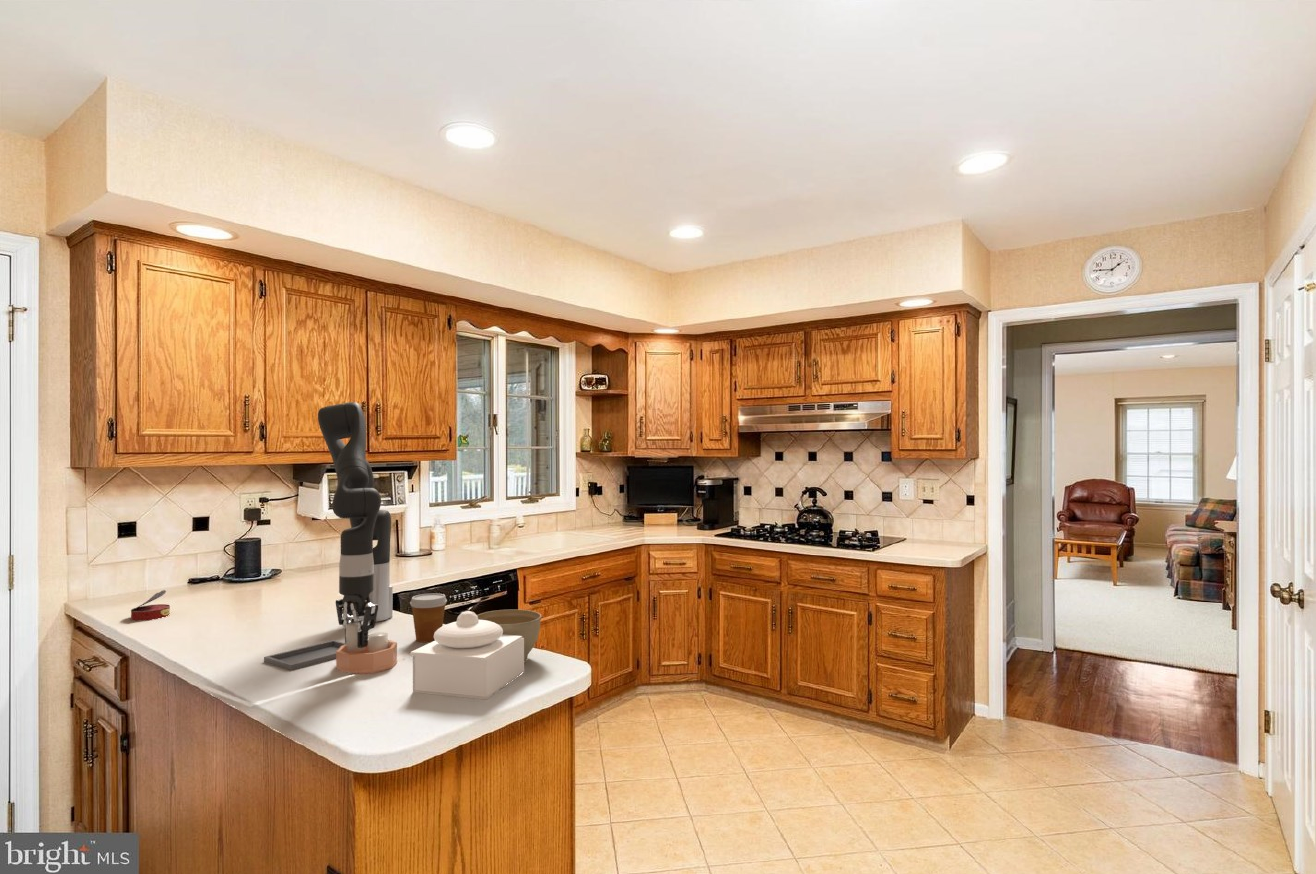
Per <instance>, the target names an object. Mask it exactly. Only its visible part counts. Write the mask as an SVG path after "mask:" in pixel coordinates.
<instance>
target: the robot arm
mask: <svg viewBox="0 0 1316 874" xmlns="http://www.w3.org/2000/svg"><path fill="white" fill-rule="evenodd" d="M363 411H364V410H363V409H362V406H361V405H360V404H359V403H358V402H357V401H351V402H344V403H337V404H331V405H328V406H323V407H321V408H320V409H318V411H317V421H318V425H319V428H320V432H321V434H322V436H323V439H324V441H325V443H326V447H327V449H328V452H329V454H330V456H331V459H332V463H333V466H334V470H335V473H336V478H337V479H336V480H337V486H336V490H335V493H334V496H333V499H332V506H331V507H332V511H333V512H332V513H334V515H335V516H336V517H338V518H339V519H349V524H350V528H346V529H344V530H342V531H341V534H340V557H339V558H340V559H339V564H338V567H339V568H338V571H339V573H338V578H339V579H338V582H339V583H338V585H339V586H338V593H339V594H340V595H341V596H343V597H342V598H340V599H336V600H335V608H336V614H337V621H338V625H339V626H342V628H343V629H344V643H345V644H346V624H347V623H350V622H355V623H357V629H358V643H357V646H358V648H363V647H366V646H367V645H368V635H369V631H370V630H372V629H375V626H376V622H382V621H385V620H389V619H390V618H393V601H394V600H393V598H394V597H393V593H394V591H393V589H394V588H393V586H392V585H391V584H390V583H391V582H390V581H391V577H390V576H391V574H390V571H391V569H390V568H391V565H390V561H391V556H390V555H391V535H392V516H391V513H390V512H389V511H388V510H386V509H380V508H381V504H382V497H381V494H380V492H379V491H378V490H377V489H376V488H375V476H374V473H373V470H372V465H371V464H370V462H369V461H368V460H367V459H366V458H367V457H366V451H367V426H366V418H365V414H364V412H363ZM348 438H349V440H348V442H347V443H346V444H345V443H344V442H343V441H342V440H344V439H348ZM373 541H377V543H376V545H375V546H374V542H373ZM361 621H363V626H362V624H361Z"/></svg>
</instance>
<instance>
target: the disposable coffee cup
mask: <svg viewBox="0 0 1316 874" xmlns="http://www.w3.org/2000/svg"><path fill="white" fill-rule="evenodd" d="M447 602H448V599H447V598H446V595H445V594H444V593H443V594H442V593H422V594H418V595H417V594H416V595H413V596H412V597H411V600H410V602H409V604H410V607H411V610H412V618H413V626H414V634H415V641H416V642H417V643H423V644H424V643H426V644H427V643H431V642H433V641H435V639H434V633H435V632H436V631H437V630H438V629H439V628H440V627H442V626H444V617H445V611H446V610H445V609H446V604H447Z"/></svg>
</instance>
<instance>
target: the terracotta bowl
mask: <svg viewBox="0 0 1316 874" xmlns="http://www.w3.org/2000/svg"><path fill="white" fill-rule="evenodd" d="M397 659H398V642H397V641H393V640H389V639H388V649H385V650H381V651H377V652H374V653H368V645H367V646H366V649H365V650H362V651H356V652H348V651H346V645H342V646H341V647H340V648H339V649H338V650H337V651H336V659H335V660H336V661H335V665H336V666H335V667H336V669H337V670H339V671H341V672H346V673H347V672H348V673H349V674H348V675H349V676H350V675H351V676H352V675H354V676H355V675H356V676H357V675H368V674H375V673H379V672H383V671H387V670H389V669H392V668H394V667H395V666H396V665H397V664H398V663H397V661H398V660H397Z"/></svg>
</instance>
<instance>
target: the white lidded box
mask: <svg viewBox="0 0 1316 874" xmlns="http://www.w3.org/2000/svg"><path fill="white" fill-rule="evenodd" d="M477 615H478V614H476V613H475V612H474V611H470V610H465V611H462V612H461V613H460V614H459V615H458V616H457V618H456V621H453V622H450V623H447V624H443V626H442V627H440V628H439V629H438V630H437V631H436V632H435V633H434V639H435V641H433V642H428V643H426V644H425V645H423V646H420V647H418V648H416V649H414V650H412V651H410V656H411V657H412V693H414V694H415V693H417V694H428V695H437V696H449V697H459V698H468V699H470V698H471V699H480V700H488V699H489V698H491V697H493V696H494V695H495V694H496V692H497V693H498V692H500V691H501V690H502V689H503V687H504V686H505V685H506V684H507V683H509V682H511V681H512V680H514V679H515V678H516V677H517V676H519V675H520V674H521V673H522V672H524V673H525V662H524V638H522V636H515V635H502V634H503V629H502V627H501V626H500V625H498V624H496V623H494V622H491V621H486V620H478V616H477ZM519 677H520V676H519ZM516 679H517V678H516ZM516 679H515V680H516ZM515 680H514V681H515ZM512 682H513V681H512ZM512 682H511V683H512ZM509 684H510V683H509ZM506 686H507V685H506ZM506 686H505V687H506ZM505 687H504V688H505ZM501 688H502V689H501ZM500 689H501V690H500ZM493 694H494V695H493ZM490 696H491V697H490Z"/></svg>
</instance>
